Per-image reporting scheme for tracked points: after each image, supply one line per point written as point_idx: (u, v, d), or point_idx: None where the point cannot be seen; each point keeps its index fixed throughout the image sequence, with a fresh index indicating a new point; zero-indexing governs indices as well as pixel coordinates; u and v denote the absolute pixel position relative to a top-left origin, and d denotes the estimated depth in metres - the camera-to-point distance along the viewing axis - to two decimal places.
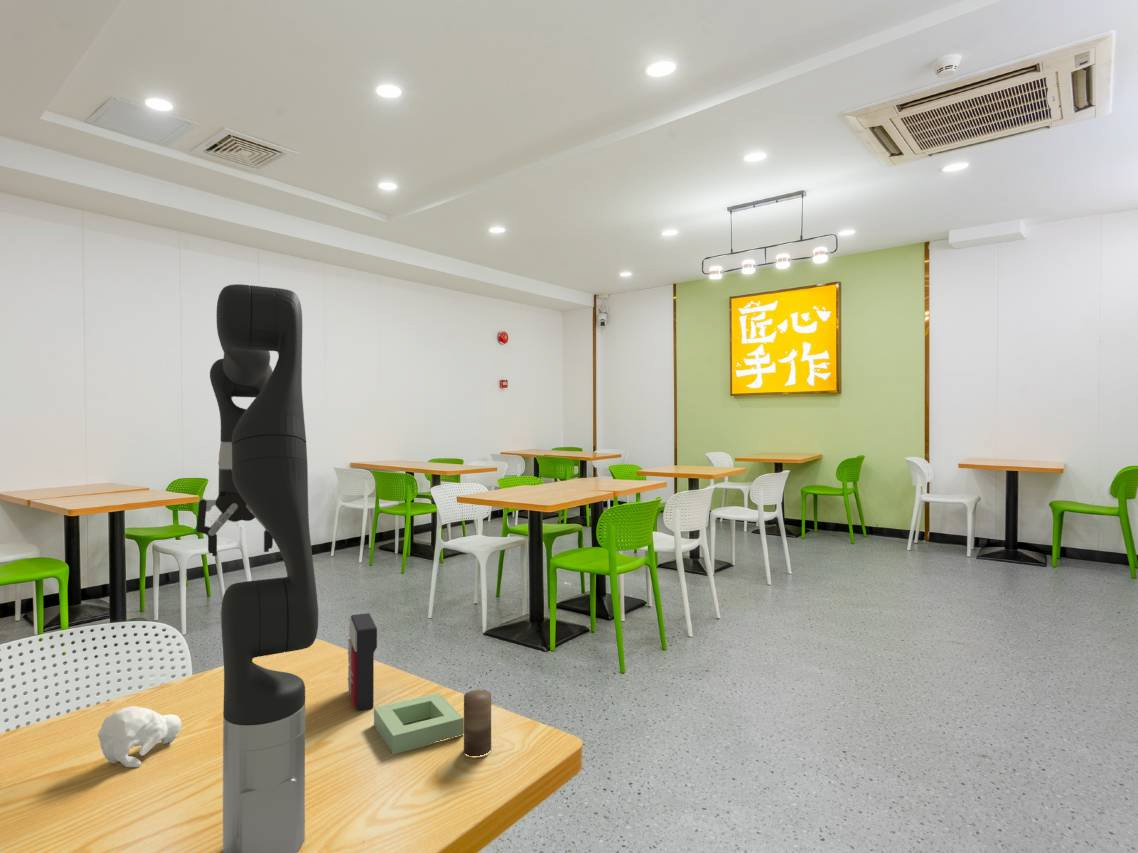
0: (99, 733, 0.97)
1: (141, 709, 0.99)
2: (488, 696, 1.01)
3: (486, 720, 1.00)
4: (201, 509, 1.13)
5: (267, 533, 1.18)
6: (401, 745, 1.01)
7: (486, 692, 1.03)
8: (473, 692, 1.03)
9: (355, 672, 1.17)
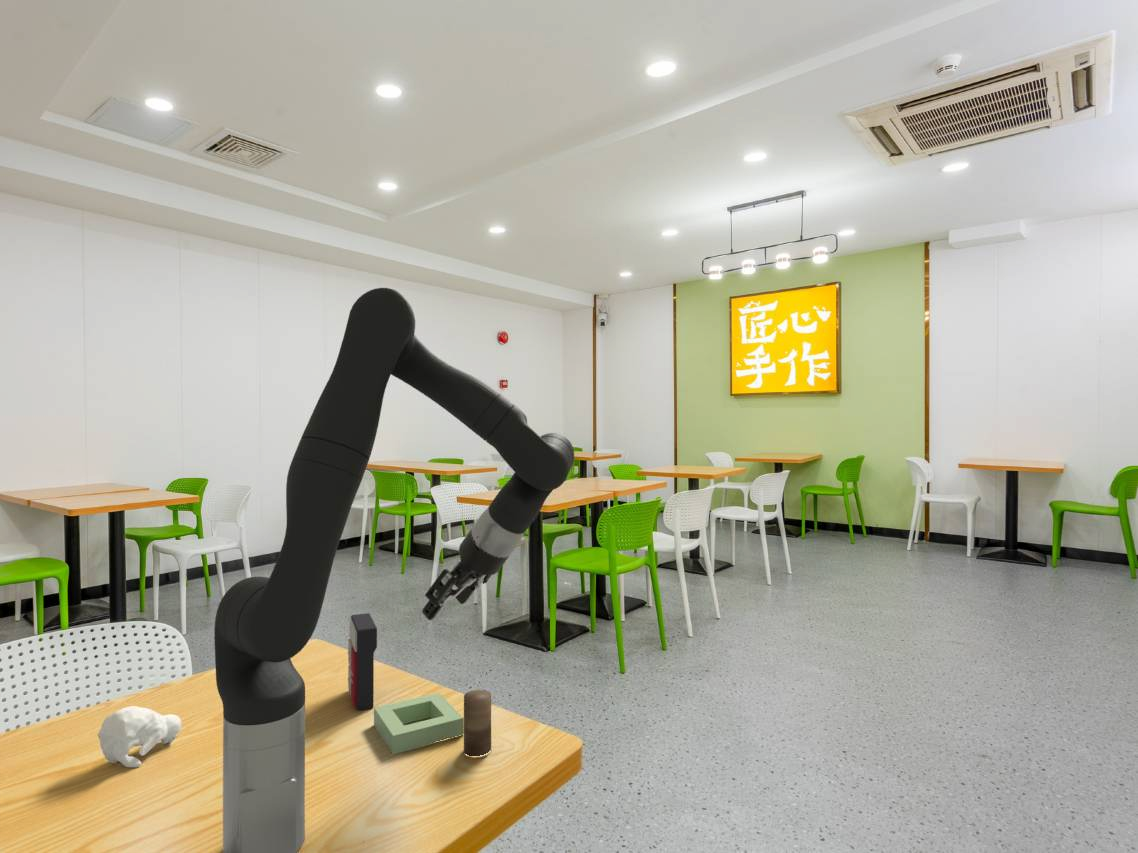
0: (99, 733, 0.97)
1: (141, 709, 0.99)
2: (488, 696, 1.01)
3: (486, 720, 1.00)
4: None
5: None
6: (401, 745, 1.01)
7: (486, 692, 1.03)
8: (473, 692, 1.03)
9: (355, 672, 1.17)
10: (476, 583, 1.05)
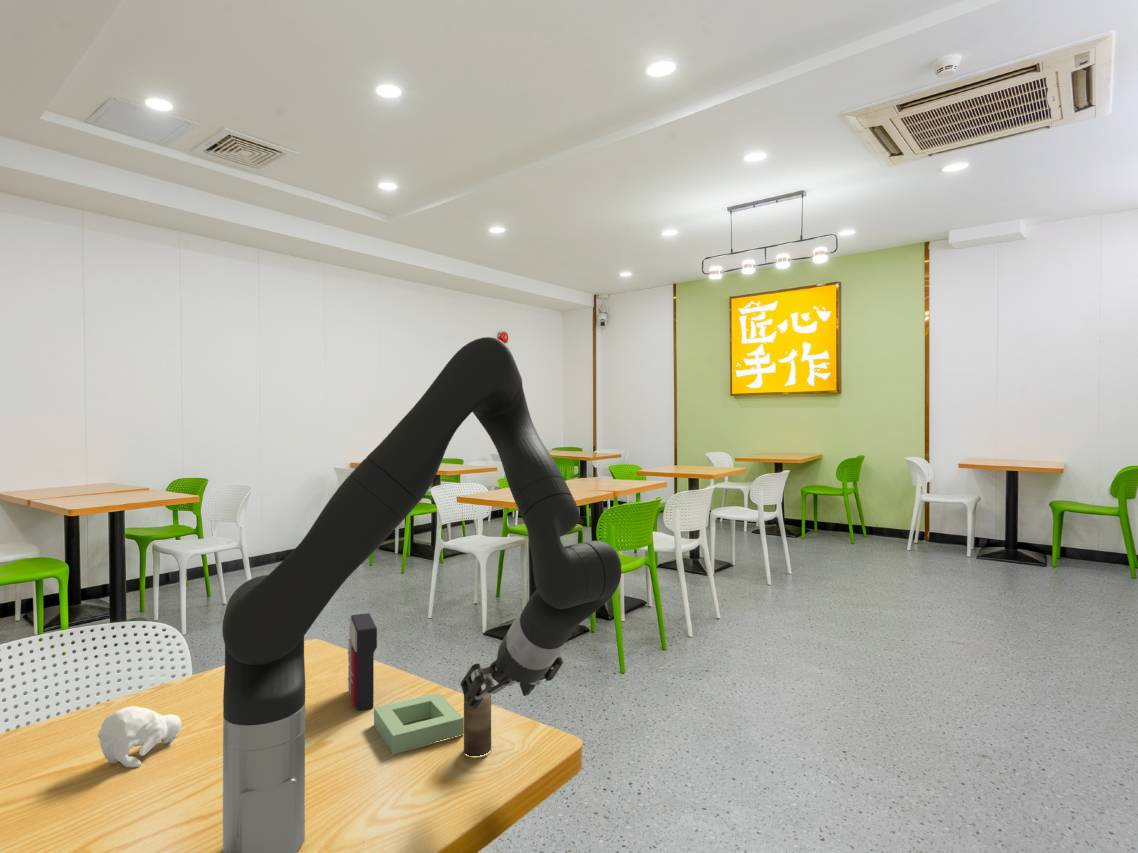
0: (99, 733, 0.97)
1: (141, 709, 0.99)
2: (488, 696, 1.01)
3: (486, 720, 1.00)
4: None
5: None
6: (401, 745, 1.01)
7: None
8: None
9: (355, 672, 1.17)
10: None
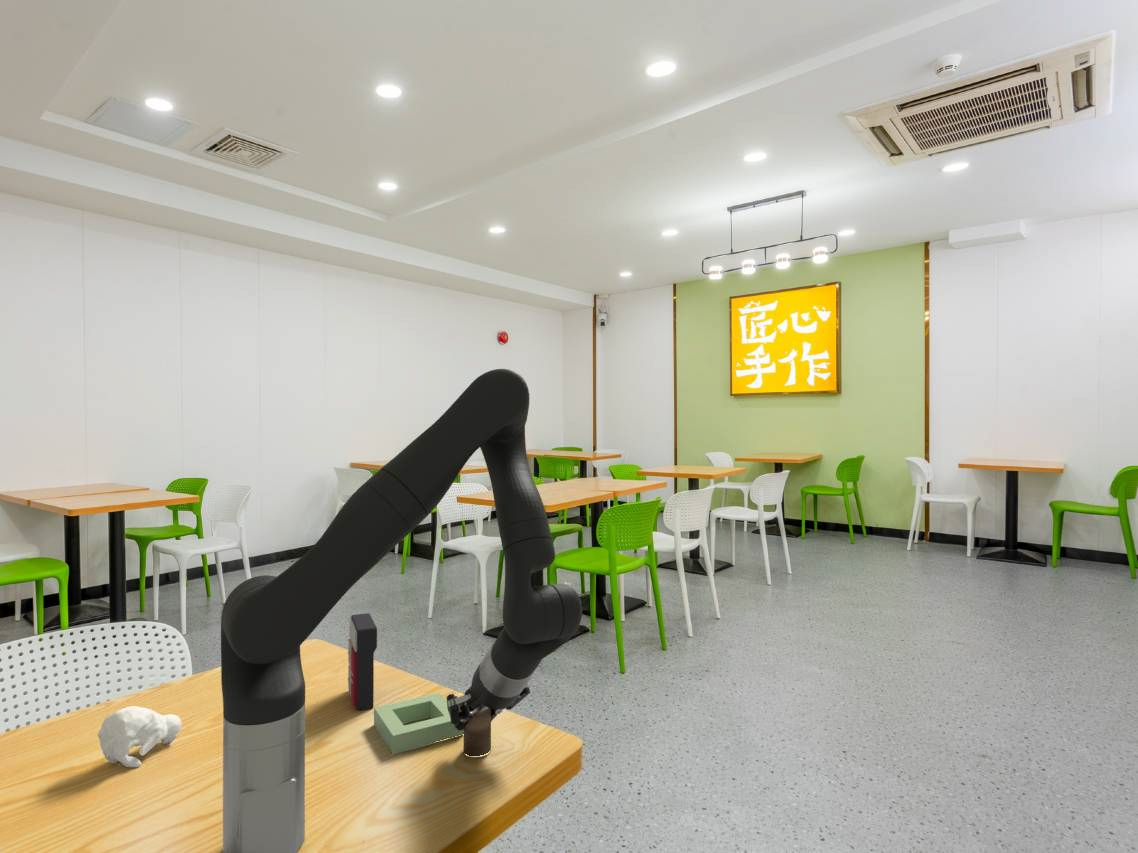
0: (99, 733, 0.97)
1: (141, 709, 0.99)
2: None
3: (486, 720, 1.00)
4: None
5: None
6: (401, 745, 1.01)
7: None
8: None
9: (355, 672, 1.17)
10: None
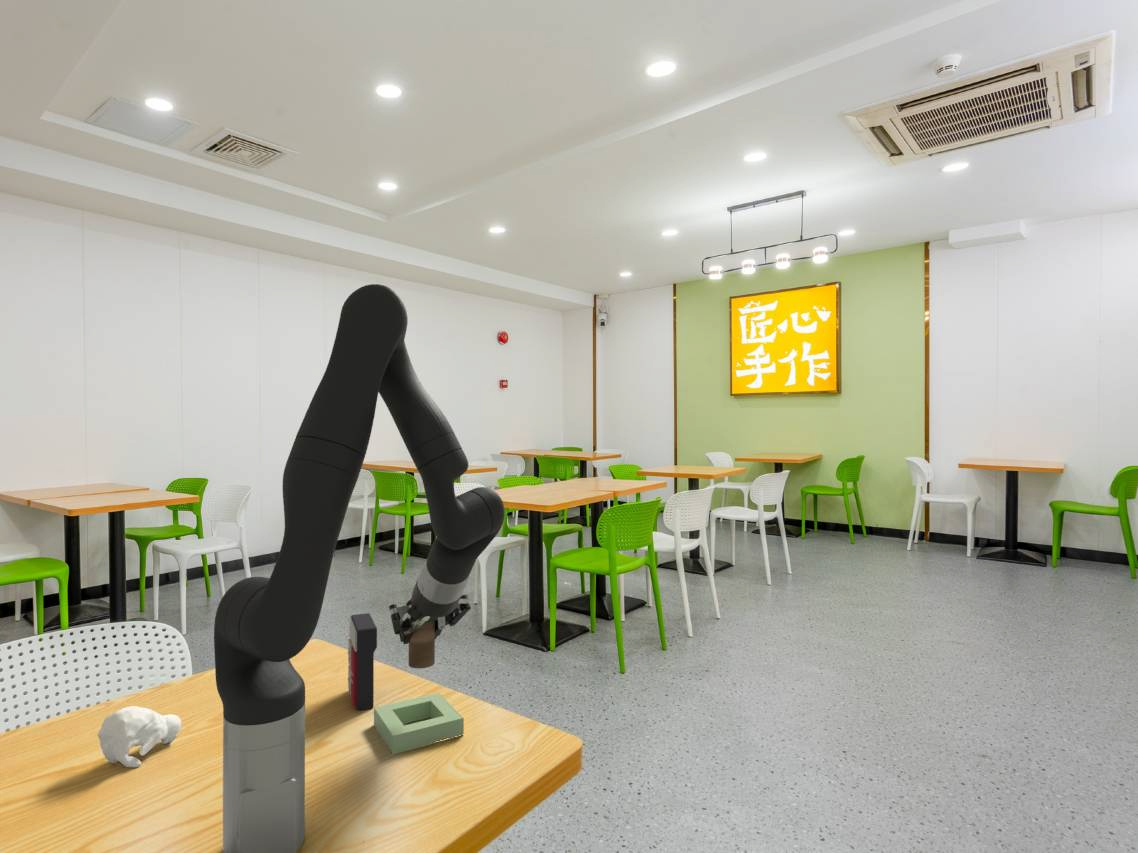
0: (99, 733, 0.97)
1: (141, 709, 0.99)
2: None
3: (429, 633, 1.07)
4: None
5: None
6: (401, 745, 1.01)
7: None
8: None
9: (355, 672, 1.17)
10: (437, 622, 1.06)
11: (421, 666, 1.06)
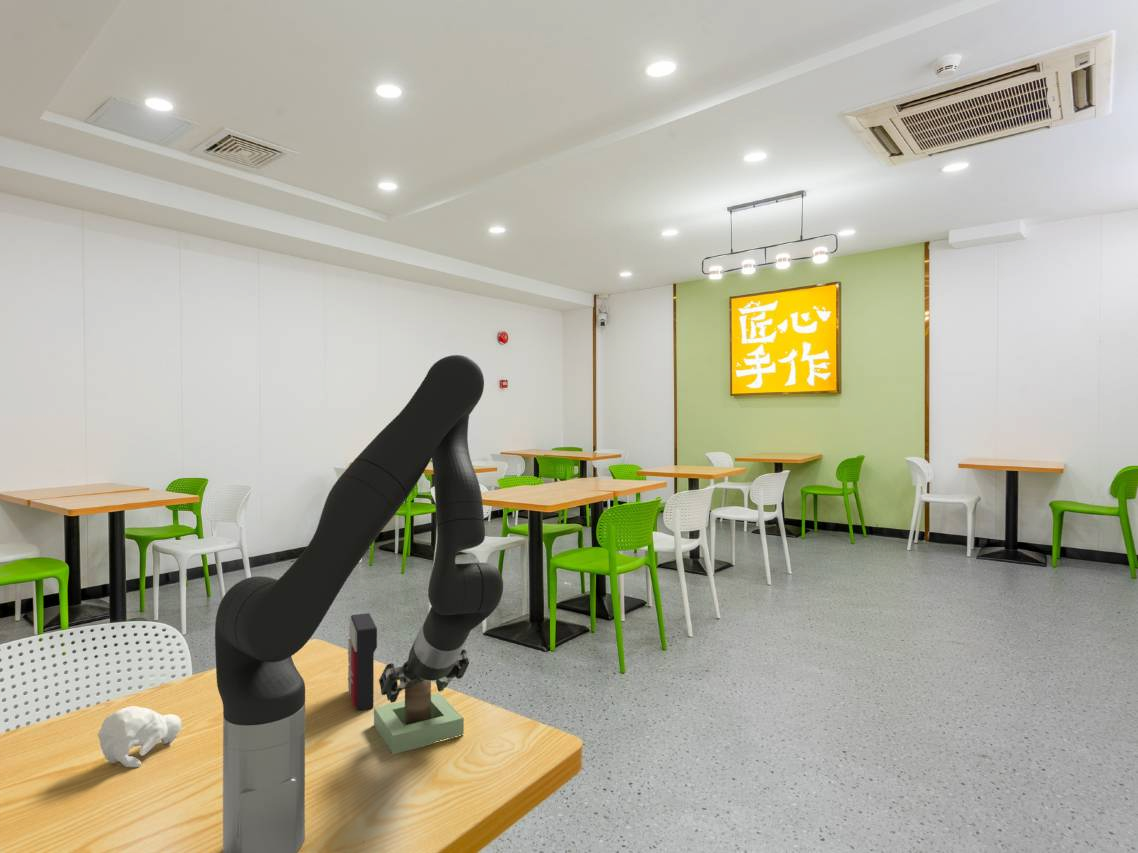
0: (99, 733, 0.97)
1: (141, 709, 0.99)
2: None
3: (425, 701, 1.07)
4: None
5: None
6: (401, 745, 1.01)
7: None
8: None
9: (355, 672, 1.17)
10: (440, 679, 1.07)
11: None
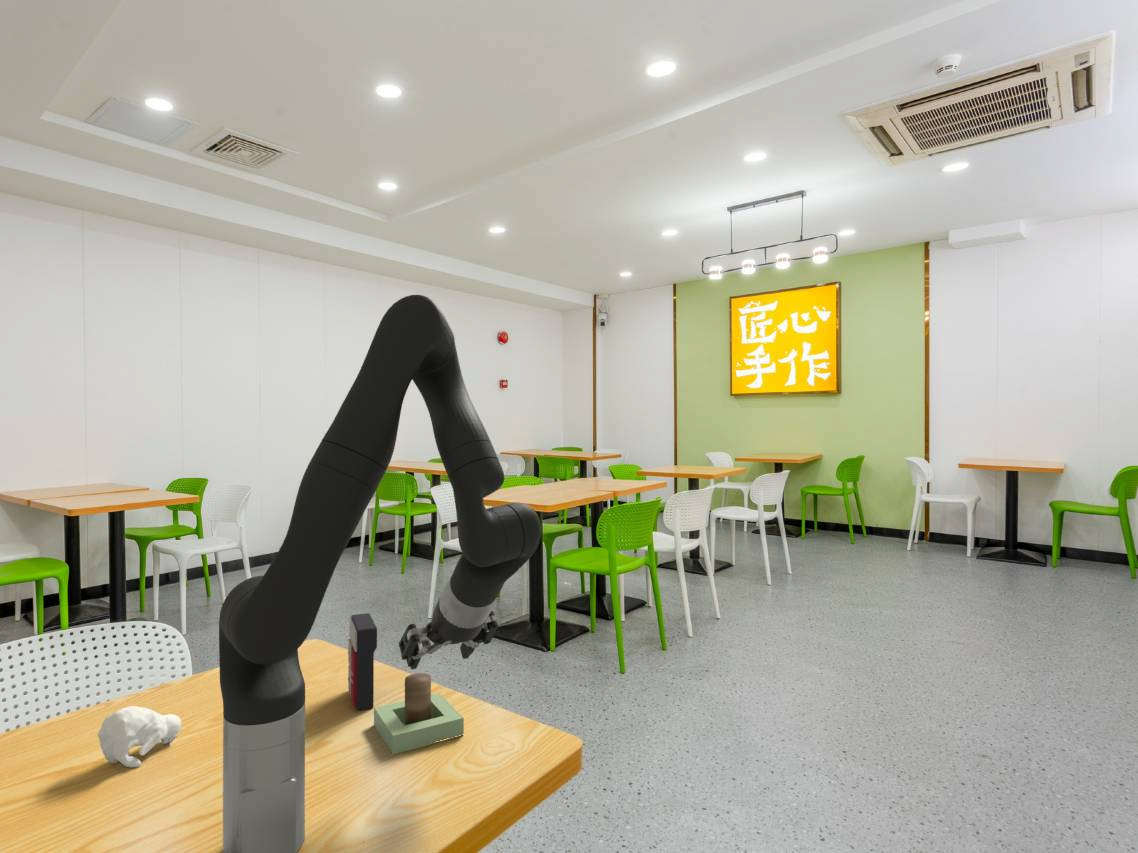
0: (99, 733, 0.97)
1: (141, 709, 0.99)
2: (427, 679, 1.09)
3: (425, 700, 1.07)
4: None
5: None
6: (401, 745, 1.01)
7: (426, 675, 1.10)
8: (414, 676, 1.10)
9: (355, 672, 1.17)
10: None
11: None
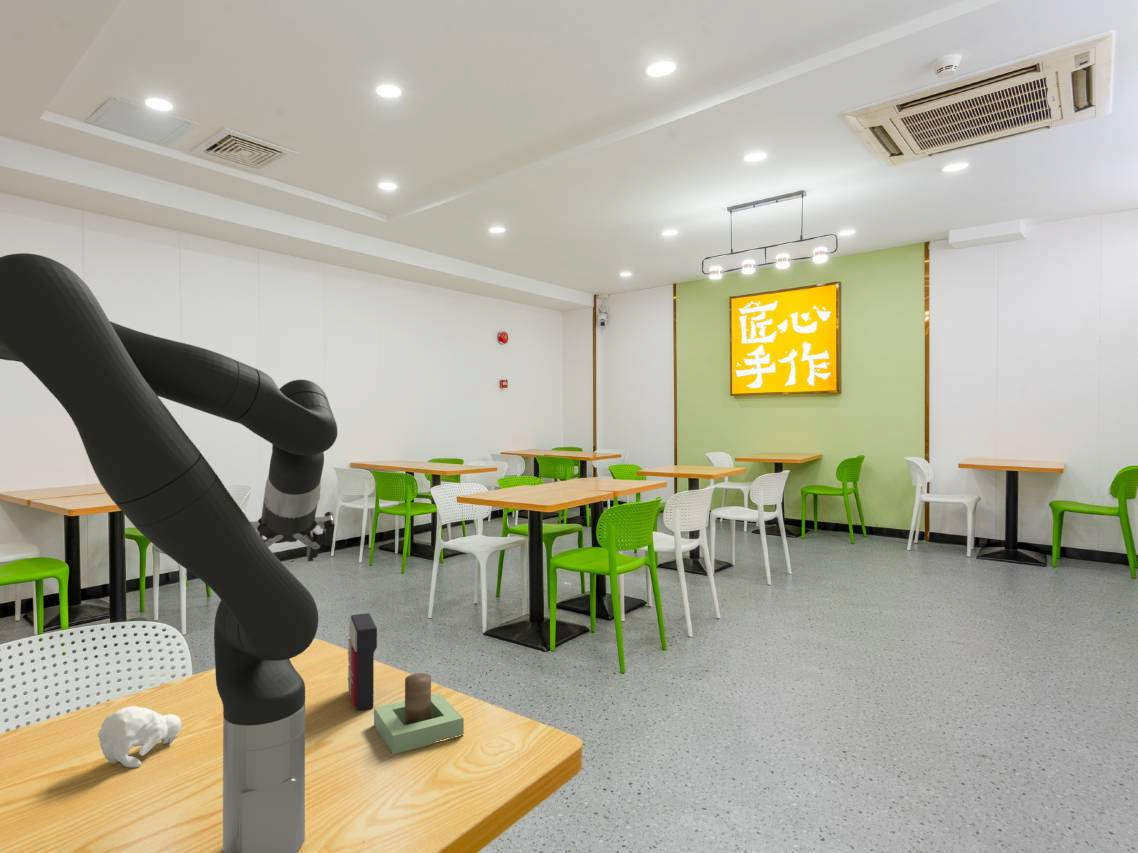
0: (99, 733, 0.97)
1: (141, 709, 0.99)
2: (428, 679, 1.08)
3: (425, 701, 1.07)
4: None
5: None
6: (401, 745, 1.01)
7: (427, 675, 1.10)
8: (414, 676, 1.10)
9: (355, 672, 1.17)
10: None
11: None
